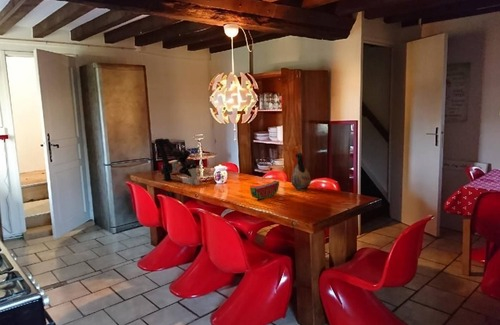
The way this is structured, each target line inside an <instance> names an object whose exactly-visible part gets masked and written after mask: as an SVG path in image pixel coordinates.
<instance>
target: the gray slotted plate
mask: <svg viewBox="0 0 500 325" xmlns="http://www.w3.org/2000/svg"><path fill="white" fill-rule="evenodd" d="M188 171H189V173H190V174H191V176H192V177H190V176H188V178H189V181H190V184H189V185H191V186H192V185H194V184H193V182H194V180H195V179H197V178H198V177H197V175H196V174H197V168H196V169H194V168H193V169H189V170H188ZM197 180H198V179H197Z"/></svg>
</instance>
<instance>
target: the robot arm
mask: <svg viewBox="0 0 500 325" xmlns="http://www.w3.org/2000/svg"><path fill="white" fill-rule="evenodd" d="M154 143H155V146H156V147H157V149H158V150H159V152H160V153H159V154H160V157H161V160H162V163H163V164H162V170H161V172H160V173H161V175H163V179H162V181H166V182H168V181H171V180H173V178H172V177H171V176H172V174H171V175H170V173H172V170H173V168H172V164H171V163H169V159H168V155H167V152H166V149H165V146H166V148H168V150H169V151H171V153H172V156H173V158H175V159H176V160H177V162H180V163H181V165H182V168H181V169H180V170H179V174H180V175H181V174H183V175H186V176H188V177H189V176H190V177H192V176H191V174H190V173H189V170H190V169H193V168H194V169H196V170H197V168H198V166H199V165H198V164H197V163H195V159H194V158H192V159H190V160H187V159H188V158H189V157H190V156H191V152H190V151H189V150H187V149H183V151H181V150H180V149H179V148H177V147H175V145H174V144H173V143H172V142H171V141H170V140H169V138H163V137H161V138H156V139H155V140H154ZM196 176H197V173H196Z"/></svg>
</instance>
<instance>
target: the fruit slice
mask: <svg viewBox="0 0 500 325" xmlns="http://www.w3.org/2000/svg"><path fill="white" fill-rule="evenodd" d="M279 187H280V181H279V180H273V181H272V182H269V183H266V184H261V185H258V186H254V187H253V186H252V187H249V190H250V195H251V197H252V198H255V199H258V200H264V199H263V198H267V197H269V198H271V197H273V196H275V194H277V193H278V190H279ZM267 199H268V198H267Z"/></svg>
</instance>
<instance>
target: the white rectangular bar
mask: <svg viewBox="0 0 500 325" xmlns="http://www.w3.org/2000/svg"><path fill="white" fill-rule="evenodd" d="M181 180H182V183H183V184H189V185H191V184H190V181H189V177H183V178H182V179H181ZM193 185H196V186H198V185H200V179H195V180H194V182H193Z"/></svg>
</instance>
